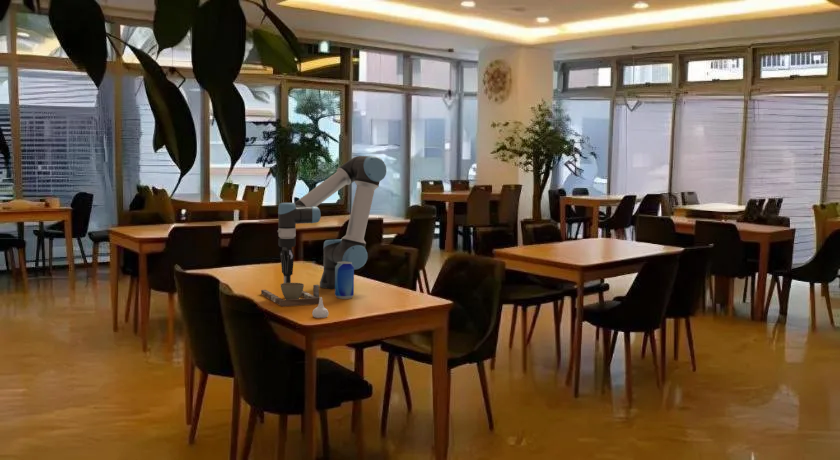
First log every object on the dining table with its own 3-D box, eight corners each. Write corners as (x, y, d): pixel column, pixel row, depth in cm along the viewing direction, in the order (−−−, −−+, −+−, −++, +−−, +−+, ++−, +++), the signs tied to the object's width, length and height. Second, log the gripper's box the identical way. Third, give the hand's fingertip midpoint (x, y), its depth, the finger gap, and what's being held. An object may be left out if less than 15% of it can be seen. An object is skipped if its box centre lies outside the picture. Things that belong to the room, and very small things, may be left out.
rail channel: (261, 294, 357) (261, 281, 356) (304, 291, 366) (304, 278, 366) (281, 306, 329) (281, 292, 328) (328, 303, 338) (328, 289, 338)
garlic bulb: (319, 320, 306) (320, 300, 305) (308, 316, 310) (310, 296, 309) (331, 318, 311) (332, 298, 309) (320, 314, 315) (322, 295, 314)
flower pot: (299, 303, 338) (299, 286, 337) (277, 301, 340) (277, 285, 339) (306, 298, 347) (306, 283, 347) (285, 297, 349) (285, 281, 349)
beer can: (338, 299, 347) (339, 263, 345) (332, 296, 354) (332, 261, 353) (356, 298, 351) (356, 263, 349) (349, 295, 358) (349, 260, 357)
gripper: (274, 236, 353) (274, 288, 355) (283, 239, 341) (283, 292, 343) (290, 235, 356) (290, 287, 358) (300, 238, 345) (300, 291, 347)
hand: (287, 289), depth 351 cm, fingers closed
